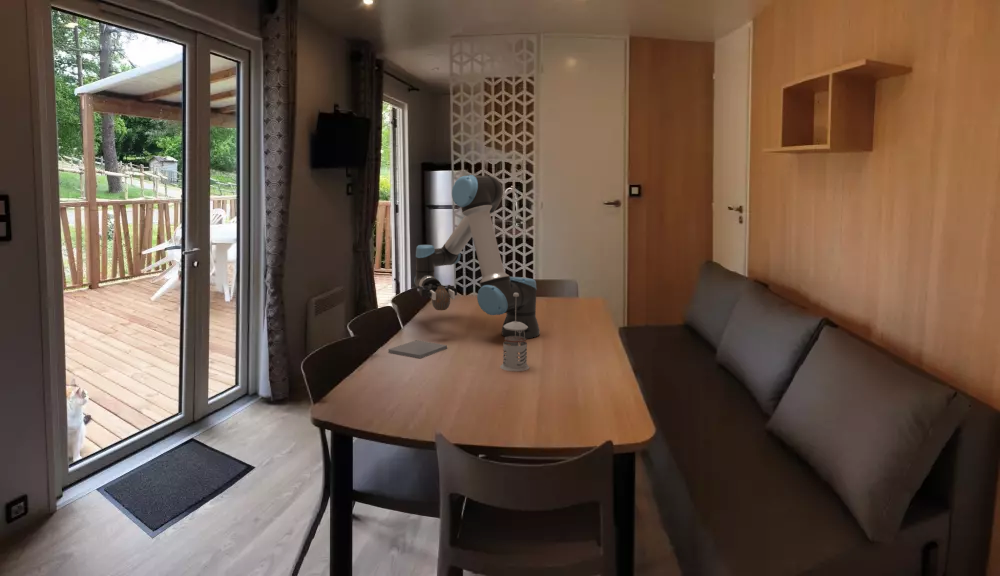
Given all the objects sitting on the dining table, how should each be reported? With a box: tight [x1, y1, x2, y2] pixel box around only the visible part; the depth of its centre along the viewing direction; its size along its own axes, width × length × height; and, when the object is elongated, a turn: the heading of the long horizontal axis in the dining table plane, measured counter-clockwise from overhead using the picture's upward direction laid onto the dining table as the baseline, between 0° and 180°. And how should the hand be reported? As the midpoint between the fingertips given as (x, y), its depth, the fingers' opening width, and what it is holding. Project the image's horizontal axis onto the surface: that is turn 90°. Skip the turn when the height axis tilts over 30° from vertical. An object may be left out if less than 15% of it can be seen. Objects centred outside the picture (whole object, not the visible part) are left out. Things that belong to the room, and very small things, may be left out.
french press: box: [499, 293, 530, 372], centre depth 212 cm, size 10×12×25 cm
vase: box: [431, 285, 451, 311], centre depth 245 cm, size 7×7×9 cm
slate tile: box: [388, 339, 448, 359], centre depth 231 cm, size 14×16×1 cm
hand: (444, 296), depth 240 cm, fingers closed on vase, 7 cm apart
